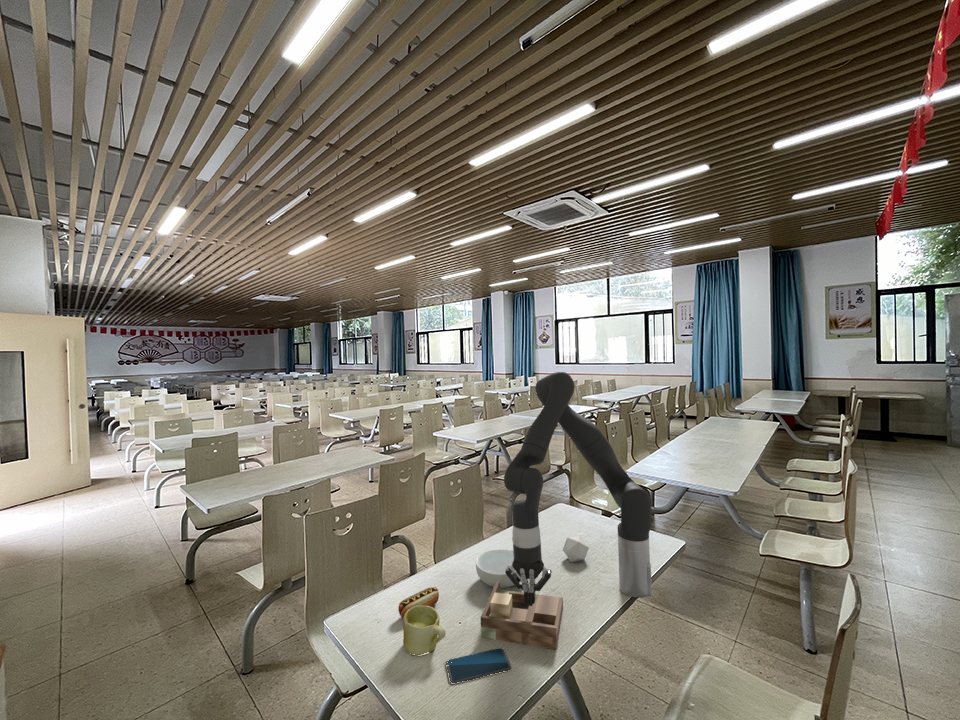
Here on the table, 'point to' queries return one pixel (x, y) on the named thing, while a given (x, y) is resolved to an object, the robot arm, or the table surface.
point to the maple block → (501, 605)
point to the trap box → (525, 620)
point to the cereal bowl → (495, 567)
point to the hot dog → (419, 600)
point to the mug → (421, 630)
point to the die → (575, 548)
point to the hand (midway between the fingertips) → (530, 603)
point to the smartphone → (477, 665)
